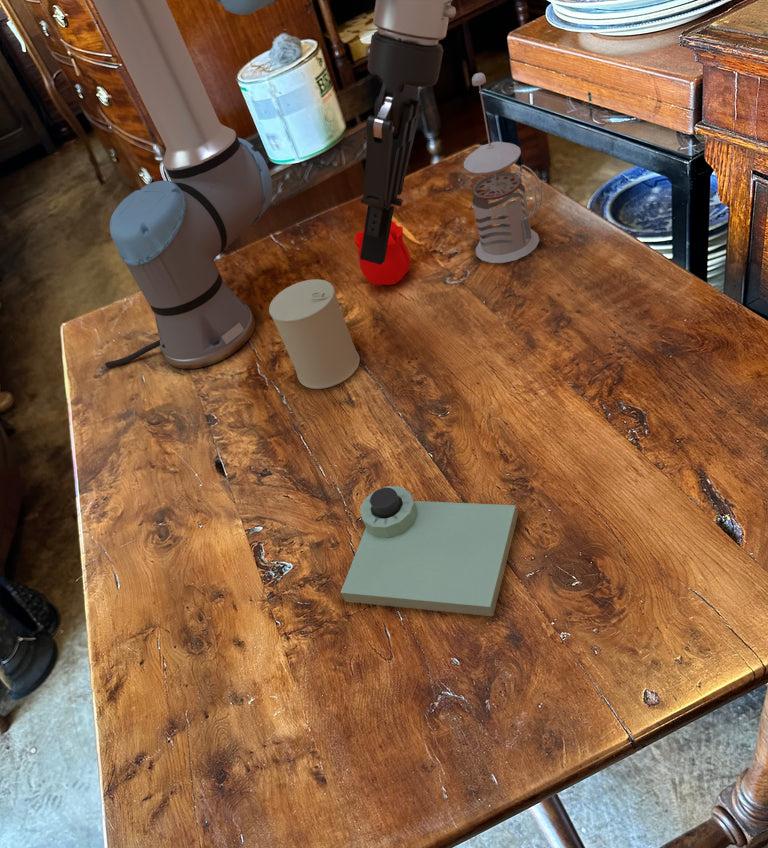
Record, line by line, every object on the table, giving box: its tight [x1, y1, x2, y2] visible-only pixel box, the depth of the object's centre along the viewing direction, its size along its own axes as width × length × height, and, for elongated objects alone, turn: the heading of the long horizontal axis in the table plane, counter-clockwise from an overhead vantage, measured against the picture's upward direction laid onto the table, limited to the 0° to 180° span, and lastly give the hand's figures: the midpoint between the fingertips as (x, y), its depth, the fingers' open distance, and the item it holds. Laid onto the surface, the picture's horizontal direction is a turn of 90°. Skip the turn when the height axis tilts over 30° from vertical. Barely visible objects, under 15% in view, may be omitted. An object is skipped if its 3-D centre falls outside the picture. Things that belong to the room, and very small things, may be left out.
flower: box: [353, 220, 412, 286], centre depth 120 cm, size 8×8×8 cm
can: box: [268, 278, 361, 390], centre depth 107 cm, size 9×9×12 cm
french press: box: [463, 72, 544, 264], centre depth 111 cm, size 10×12×25 cm
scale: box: [340, 485, 519, 617], centre depth 83 cm, size 16×13×4 cm
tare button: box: [370, 487, 401, 518], centre depth 85 cm, size 3×3×2 cm
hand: (372, 259), depth 95 cm, fingers closed
